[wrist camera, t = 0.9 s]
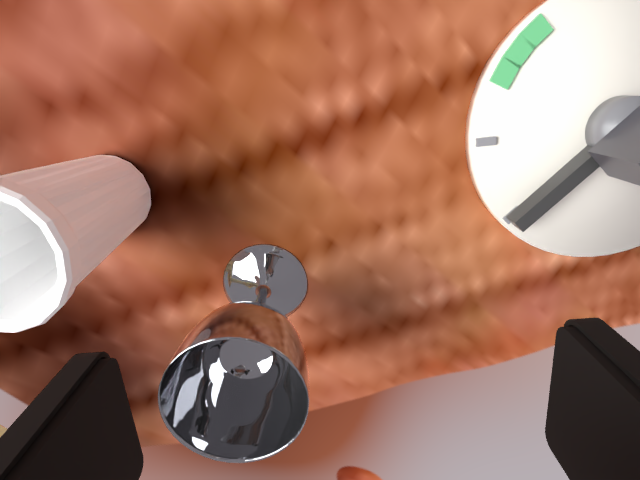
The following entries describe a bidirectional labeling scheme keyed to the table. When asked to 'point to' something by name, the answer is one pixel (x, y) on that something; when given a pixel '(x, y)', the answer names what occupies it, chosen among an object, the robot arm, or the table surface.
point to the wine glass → (242, 364)
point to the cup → (62, 231)
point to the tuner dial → (556, 122)
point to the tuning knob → (592, 158)
